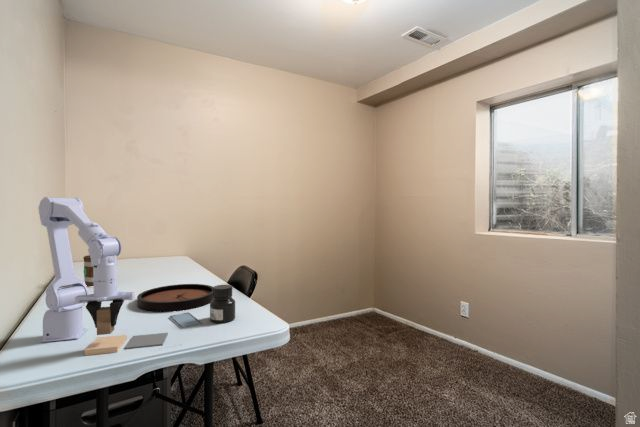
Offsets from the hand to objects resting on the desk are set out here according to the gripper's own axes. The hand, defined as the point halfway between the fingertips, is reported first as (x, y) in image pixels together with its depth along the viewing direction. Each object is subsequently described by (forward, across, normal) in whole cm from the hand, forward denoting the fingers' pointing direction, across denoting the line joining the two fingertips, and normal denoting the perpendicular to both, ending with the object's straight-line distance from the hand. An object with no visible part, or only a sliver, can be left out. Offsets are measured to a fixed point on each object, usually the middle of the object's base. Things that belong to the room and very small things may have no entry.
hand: (105, 325), depth 96 cm
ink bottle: (+7, +32, +16) cm, 37 cm away
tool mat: (+6, +10, +2) cm, 12 cm away
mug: (+7, -32, +93) cm, 99 cm away
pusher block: (+2, 0, 0) cm, 2 cm away
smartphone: (+7, +20, +18) cm, 27 cm away
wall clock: (+7, +14, +46) cm, 48 cm away
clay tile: (+6, 0, +5) cm, 8 cm away
